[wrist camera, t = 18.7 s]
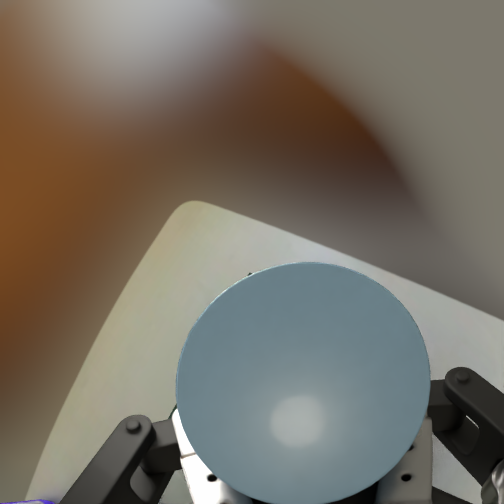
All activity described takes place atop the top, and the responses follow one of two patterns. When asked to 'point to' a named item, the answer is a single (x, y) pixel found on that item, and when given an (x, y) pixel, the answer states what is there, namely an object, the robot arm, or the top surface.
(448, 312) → the top surface
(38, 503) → the bottle
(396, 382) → the cylinder
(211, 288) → the top surface
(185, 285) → the top surface
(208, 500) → the robot arm
